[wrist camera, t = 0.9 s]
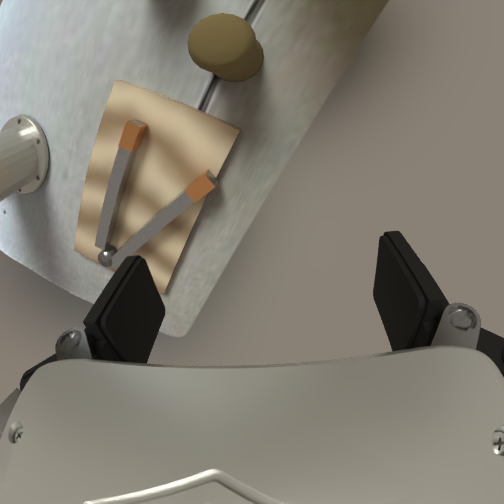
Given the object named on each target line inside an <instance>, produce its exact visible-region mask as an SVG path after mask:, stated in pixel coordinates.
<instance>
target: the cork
mask: <svg viewBox="0 0 504 504" xmlns="http://www.w3.org/2000/svg"><path fill="white" fill-rule="evenodd" d="M188 50H189V54H190V56H191V58H192V60H193V61H194V62H195V63H196V64H197V65H198V66H199V67H200V68H202V69H204V70H207V71H209V72H213V73H214V74H215V75H216V76H217V77H219V78H221V79H223V80H226V81H232V82H237V81H243V80H246V79H248V78H251V77H252V76H253V75H254V74H256V73H257V72H258V70H259V69H260V67H261V66H262V63H263V59H264V55H263V49H262V47H261V45H260V43H259V42H258V41H257V40H256V37H255V33H254V31H253V29H252V27H251V25H250V24H248V23H247V22H246V21H245V20H244V19H242V18H240V17H238V16H235V15H232V14H223V13H221V14H215V15H211V16H209V17H206V18H204V19H202V20H201V21H200V22H199V23H198V24H196V25H195V26H194V28H193V30H192V31H191V33H190V35H189V39H188Z"/></svg>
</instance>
